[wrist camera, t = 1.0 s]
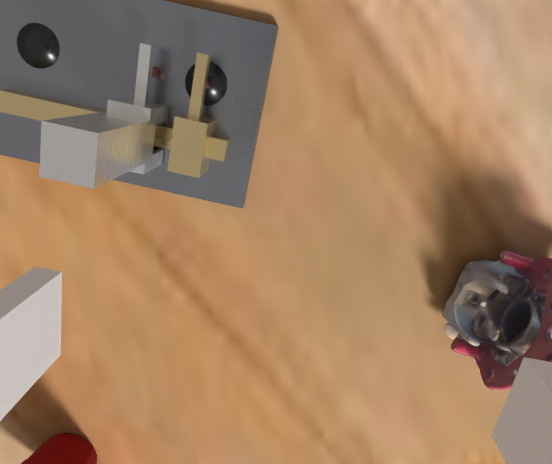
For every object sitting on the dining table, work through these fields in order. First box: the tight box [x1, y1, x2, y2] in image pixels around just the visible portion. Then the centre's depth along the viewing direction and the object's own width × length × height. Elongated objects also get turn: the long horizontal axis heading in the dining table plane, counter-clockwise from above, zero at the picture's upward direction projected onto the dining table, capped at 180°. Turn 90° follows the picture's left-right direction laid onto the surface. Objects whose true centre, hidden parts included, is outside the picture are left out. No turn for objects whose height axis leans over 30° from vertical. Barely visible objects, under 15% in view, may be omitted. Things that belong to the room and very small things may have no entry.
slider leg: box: [39, 43, 169, 189], centre depth 29 cm, size 9×3×12 cm, turn 168°
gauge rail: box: [0, 53, 230, 178], centre depth 33 cm, size 8×18×3 cm, turn 78°
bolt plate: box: [0, 0, 279, 208], centre depth 35 cm, size 14×22×1 cm, turn 78°
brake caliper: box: [442, 250, 552, 390], centre depth 35 cm, size 11×11×12 cm
